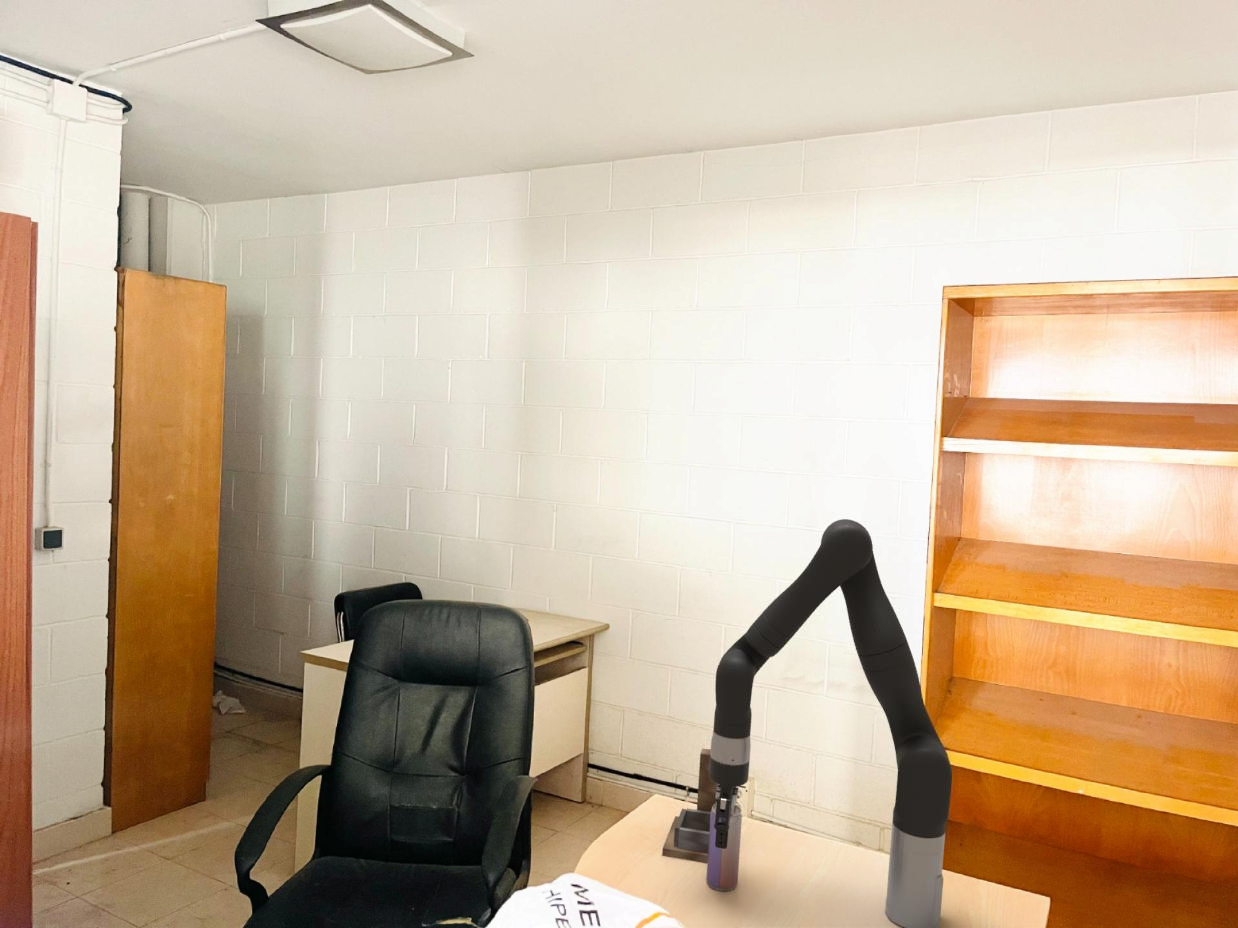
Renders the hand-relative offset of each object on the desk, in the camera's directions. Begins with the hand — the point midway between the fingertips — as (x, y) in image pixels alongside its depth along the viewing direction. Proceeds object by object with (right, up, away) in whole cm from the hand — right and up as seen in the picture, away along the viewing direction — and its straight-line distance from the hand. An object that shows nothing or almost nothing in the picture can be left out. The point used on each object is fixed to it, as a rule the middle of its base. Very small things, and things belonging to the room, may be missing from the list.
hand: (723, 836), depth 176 cm
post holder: (-3, -8, +16) cm, 18 cm away
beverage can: (0, -10, +1) cm, 10 cm away
